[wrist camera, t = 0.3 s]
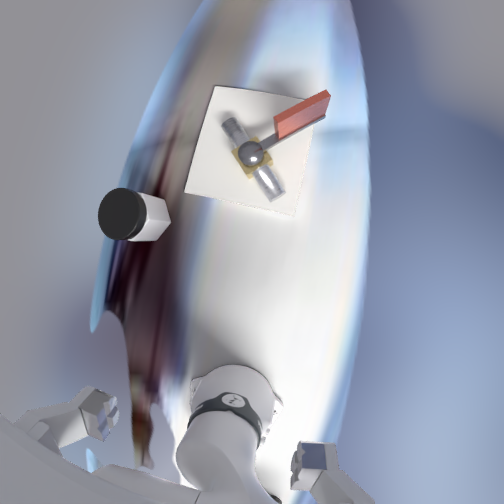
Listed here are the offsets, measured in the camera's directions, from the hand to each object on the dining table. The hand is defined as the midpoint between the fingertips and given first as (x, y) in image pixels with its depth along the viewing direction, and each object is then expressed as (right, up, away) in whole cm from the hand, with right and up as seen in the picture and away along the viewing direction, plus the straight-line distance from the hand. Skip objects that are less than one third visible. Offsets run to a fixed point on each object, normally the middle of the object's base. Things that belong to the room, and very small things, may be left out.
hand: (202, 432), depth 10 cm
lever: (+7, +26, +34) cm, 44 cm away
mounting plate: (+2, +27, +39) cm, 48 cm away
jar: (-17, +14, +42) cm, 48 cm away
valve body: (+3, +24, +40) cm, 46 cm away
